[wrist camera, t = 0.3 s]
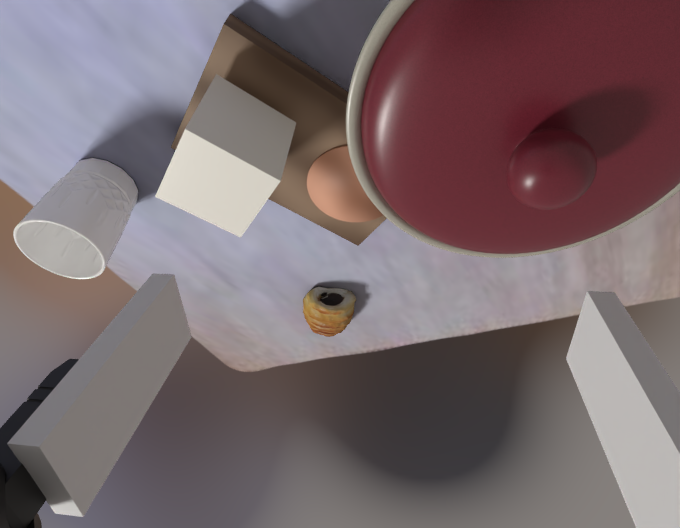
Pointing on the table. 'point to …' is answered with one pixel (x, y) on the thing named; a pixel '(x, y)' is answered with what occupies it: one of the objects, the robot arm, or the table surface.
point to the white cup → (79, 220)
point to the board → (296, 129)
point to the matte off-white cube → (228, 158)
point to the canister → (517, 120)
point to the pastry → (328, 310)
